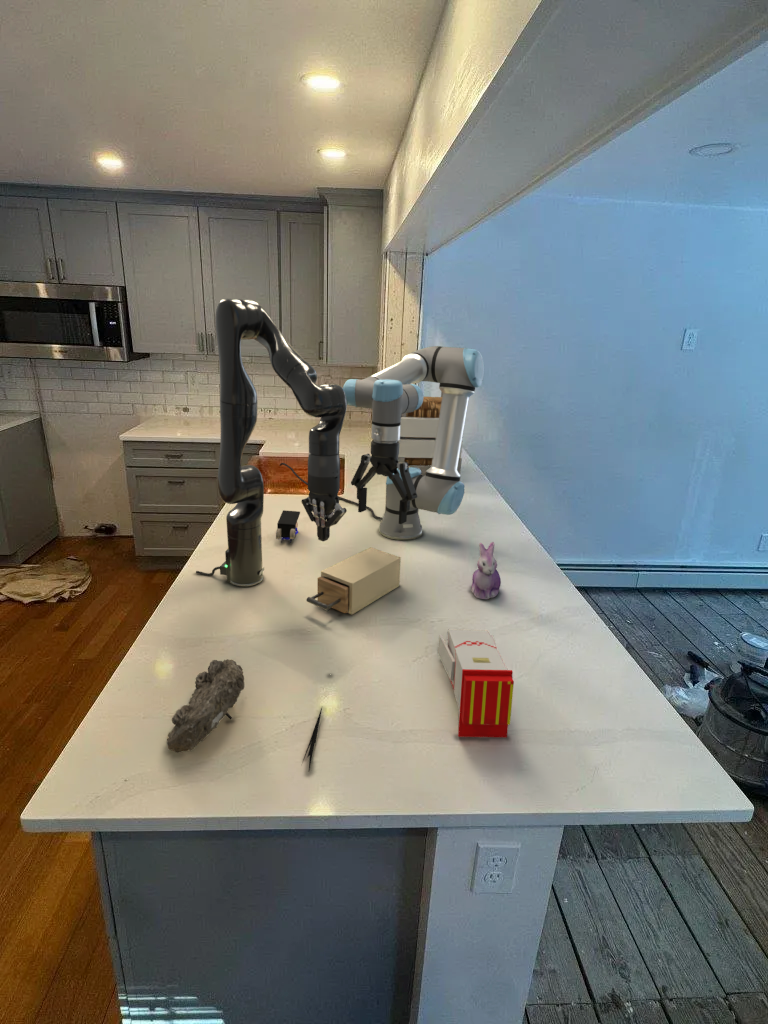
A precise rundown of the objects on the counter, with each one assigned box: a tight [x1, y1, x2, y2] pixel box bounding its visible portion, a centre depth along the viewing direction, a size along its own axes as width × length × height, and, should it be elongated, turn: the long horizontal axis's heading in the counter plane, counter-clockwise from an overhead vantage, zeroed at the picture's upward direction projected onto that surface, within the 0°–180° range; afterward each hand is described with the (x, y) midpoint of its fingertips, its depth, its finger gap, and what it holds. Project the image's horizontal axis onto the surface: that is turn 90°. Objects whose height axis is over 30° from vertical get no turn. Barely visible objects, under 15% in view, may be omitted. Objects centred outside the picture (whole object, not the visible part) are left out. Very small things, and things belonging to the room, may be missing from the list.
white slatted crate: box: [398, 391, 465, 475], centre depth 268 cm, size 34×33×41 cm
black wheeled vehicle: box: [275, 509, 301, 544], centre depth 191 cm, size 7×8×15 cm
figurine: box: [470, 541, 502, 600], centre depth 158 cm, size 9×10×15 cm
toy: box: [437, 628, 515, 738], centre depth 117 cm, size 12×13×30 cm
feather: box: [301, 673, 332, 771], centre depth 108 cm, size 2×28×2 cm
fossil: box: [166, 658, 245, 754], centre depth 106 cm, size 22×10×15 cm
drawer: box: [305, 576, 349, 614], centre depth 151 cm, size 26×10×7 cm, turn 143°
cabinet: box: [320, 547, 402, 616], centre depth 156 cm, size 21×11×9 cm, turn 143°
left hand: (323, 539), depth 138 cm, fingers closed
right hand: (381, 516), depth 155 cm, fingers open, 13 cm apart
